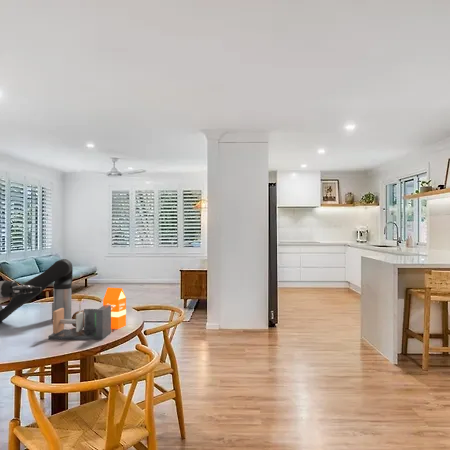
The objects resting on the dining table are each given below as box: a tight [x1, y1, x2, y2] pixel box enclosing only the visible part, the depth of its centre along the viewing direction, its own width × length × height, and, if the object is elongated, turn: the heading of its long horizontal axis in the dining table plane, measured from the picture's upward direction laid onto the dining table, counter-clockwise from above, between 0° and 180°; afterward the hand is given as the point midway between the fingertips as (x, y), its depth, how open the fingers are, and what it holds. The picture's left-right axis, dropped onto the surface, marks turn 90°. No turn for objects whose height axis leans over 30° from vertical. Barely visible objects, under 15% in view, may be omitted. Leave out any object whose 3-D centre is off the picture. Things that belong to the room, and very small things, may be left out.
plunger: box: [52, 308, 76, 334], centre depth 183 cm, size 10×8×10 cm
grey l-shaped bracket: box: [47, 305, 112, 341], centre depth 184 cm, size 25×12×14 cm, turn 88°
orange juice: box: [102, 287, 127, 330], centre depth 202 cm, size 8×9×20 cm
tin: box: [71, 309, 84, 328], centre depth 203 cm, size 15×3×8 cm, turn 148°
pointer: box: [75, 302, 84, 332], centre depth 183 cm, size 1×6×13 cm, turn 178°
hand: (41, 289), depth 184 cm, fingers closed
